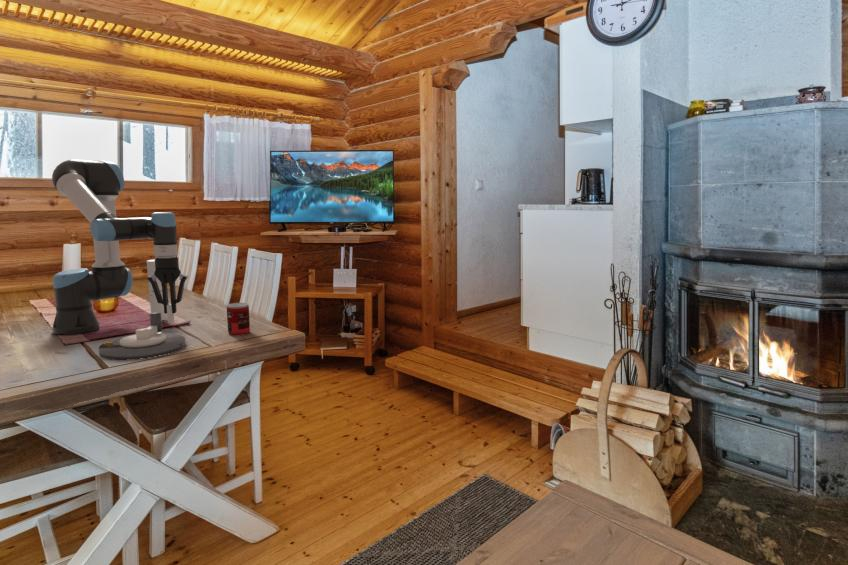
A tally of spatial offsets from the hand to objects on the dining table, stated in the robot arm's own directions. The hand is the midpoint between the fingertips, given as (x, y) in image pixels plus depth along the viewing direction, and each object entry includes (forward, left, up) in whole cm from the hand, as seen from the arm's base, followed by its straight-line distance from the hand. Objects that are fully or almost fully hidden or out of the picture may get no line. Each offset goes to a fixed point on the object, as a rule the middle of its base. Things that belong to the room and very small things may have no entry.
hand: (171, 322), depth 190 cm
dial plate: (-5, -10, -7) cm, 13 cm away
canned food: (+21, +10, -7) cm, 24 cm away
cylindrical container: (-19, +34, -7) cm, 39 cm away
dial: (-5, -8, -4) cm, 10 cm away
